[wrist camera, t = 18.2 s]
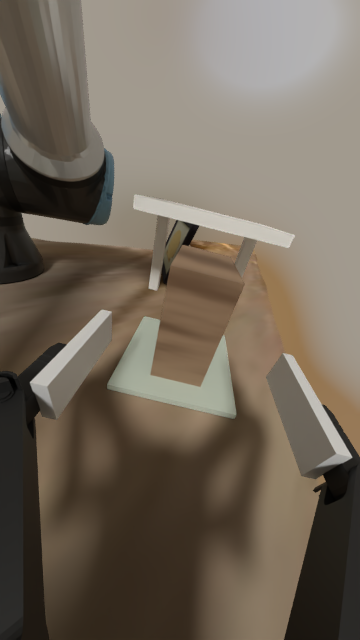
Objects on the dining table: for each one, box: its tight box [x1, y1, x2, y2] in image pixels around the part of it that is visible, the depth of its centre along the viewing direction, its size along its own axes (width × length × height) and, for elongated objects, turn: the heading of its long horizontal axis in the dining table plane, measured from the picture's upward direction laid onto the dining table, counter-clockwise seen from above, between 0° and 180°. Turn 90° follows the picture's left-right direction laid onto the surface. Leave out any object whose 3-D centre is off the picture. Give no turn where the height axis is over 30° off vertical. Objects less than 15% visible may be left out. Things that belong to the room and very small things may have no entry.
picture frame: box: [162, 220, 199, 284], centre depth 53 cm, size 23×9×15 cm, turn 8°
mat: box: [107, 316, 237, 419], centre depth 25 cm, size 14×14×1 cm
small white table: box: [133, 195, 295, 290], centre depth 33 cm, size 14×20×18 cm
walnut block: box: [150, 245, 245, 387], centre depth 22 cm, size 9×6×13 cm, turn 174°
